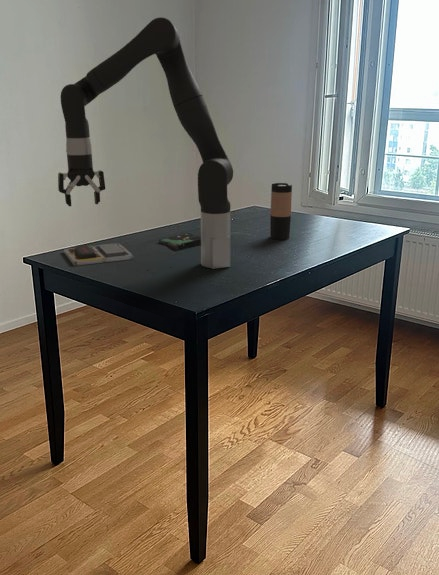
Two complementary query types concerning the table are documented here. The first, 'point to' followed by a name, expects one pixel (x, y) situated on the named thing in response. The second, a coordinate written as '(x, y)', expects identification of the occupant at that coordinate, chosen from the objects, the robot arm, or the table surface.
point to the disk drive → (181, 241)
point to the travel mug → (280, 211)
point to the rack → (100, 258)
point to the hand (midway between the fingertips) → (83, 204)
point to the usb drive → (84, 252)
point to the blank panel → (110, 250)
